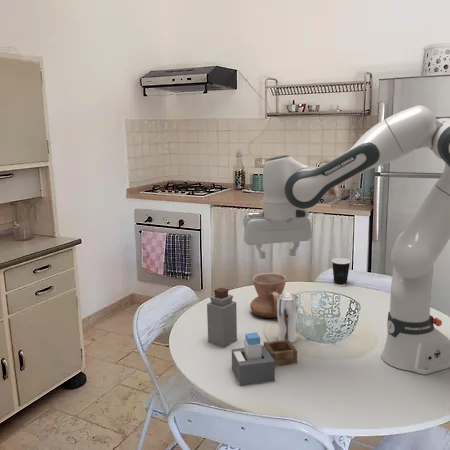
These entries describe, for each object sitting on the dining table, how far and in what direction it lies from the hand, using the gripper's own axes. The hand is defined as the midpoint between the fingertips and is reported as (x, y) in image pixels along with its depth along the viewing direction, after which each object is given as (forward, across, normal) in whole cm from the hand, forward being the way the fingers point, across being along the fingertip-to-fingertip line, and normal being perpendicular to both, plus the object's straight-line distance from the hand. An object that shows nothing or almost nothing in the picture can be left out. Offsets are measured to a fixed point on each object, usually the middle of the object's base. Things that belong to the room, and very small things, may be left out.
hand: (277, 256), depth 148 cm
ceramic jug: (+31, +7, +30) cm, 44 cm away
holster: (+31, 0, -4) cm, 31 cm away
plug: (+31, -11, -11) cm, 35 cm away
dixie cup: (+31, +46, +53) cm, 77 cm away
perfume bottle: (+31, -15, +12) cm, 37 cm away
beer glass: (+31, +6, +8) cm, 33 cm away
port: (+31, -11, -11) cm, 35 cm away
